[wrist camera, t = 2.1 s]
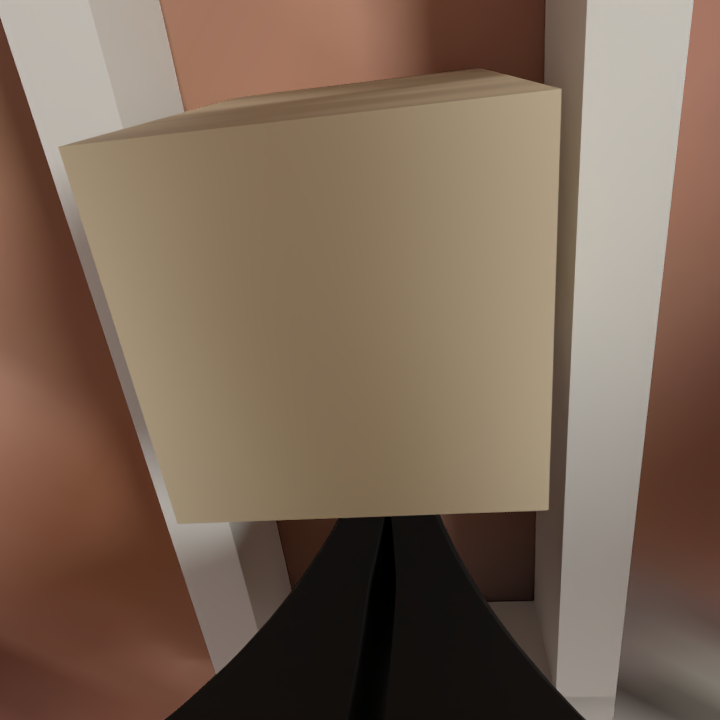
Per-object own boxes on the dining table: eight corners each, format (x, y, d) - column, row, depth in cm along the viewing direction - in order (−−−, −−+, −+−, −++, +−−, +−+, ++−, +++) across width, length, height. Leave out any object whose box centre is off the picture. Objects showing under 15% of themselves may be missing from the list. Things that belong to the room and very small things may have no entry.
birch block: (480, 67, 10) (562, 90, 5) (485, 299, 12) (549, 510, 6) (240, 96, 10) (57, 146, 5) (280, 315, 12) (177, 523, 7)
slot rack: (698, -1010, 6) (885, -1702, 3) (582, 634, 15) (611, 732, 13) (-120, -755, 7) (-387, -1160, 4) (258, 638, 16) (234, 731, 14)
